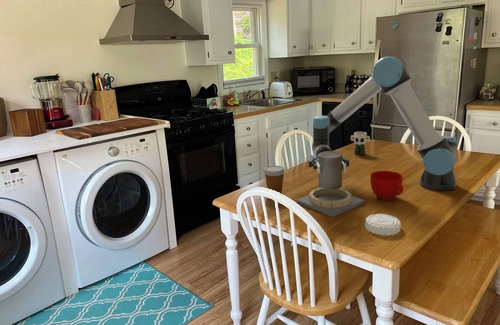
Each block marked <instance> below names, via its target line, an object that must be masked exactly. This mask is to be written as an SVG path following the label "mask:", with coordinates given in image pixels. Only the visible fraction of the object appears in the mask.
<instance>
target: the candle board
mask: <svg viewBox="0 0 500 325" xmlns="http://www.w3.org/2000/svg"><path fill="white" fill-rule="evenodd" d="M295 202H297V203H296V204H298V203H299V204H298V205H301V206H303V207H306V208H309V209H310V210H313V211H315V212H318V213H321V214H323V215H326V216H327V217H328V216H329V217H330V218H334V217H337V216H339V215H341V214H345V212H347V211H350V210H353V209H355V208H357V207H359V206H362V205H363V204H365V199H363V198H360V197H357V196H353V195H352V194H351V192H349V191H348V190H347V189H344V188H342V187H340V188H338V189H324V188H321V187H318V188H316V189H311V190H310V192H309V193H308V195H305V196H302V197H300V198H296V200H295Z"/></svg>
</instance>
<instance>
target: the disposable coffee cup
mask: <svg viewBox="0 0 500 325" xmlns="http://www.w3.org/2000/svg"><path fill="white" fill-rule="evenodd" d="M285 172H286V171H285V168H284V167H283V166H281V165H269V166H266V167H264V170H263V174H264V176H265V183H266V189H267V188H269V189H272V190H275V191H277V192H280V193H283V184H284V173H285Z"/></svg>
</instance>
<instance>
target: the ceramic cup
mask: <svg viewBox="0 0 500 325" xmlns="http://www.w3.org/2000/svg"><path fill="white" fill-rule="evenodd" d="M403 180H404V176H403V175H402V174H401V173H399V172H397V171H396V172H395V171H390V170H377V171H373V172H372V173H371V174H370V187H371V190H372V192H373V194H374V195H375V196H376V197H377V199H379V200H383V201H391V200H394V198H395V197H397V196H400V195H401V194H403V191H404V187H403Z"/></svg>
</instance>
